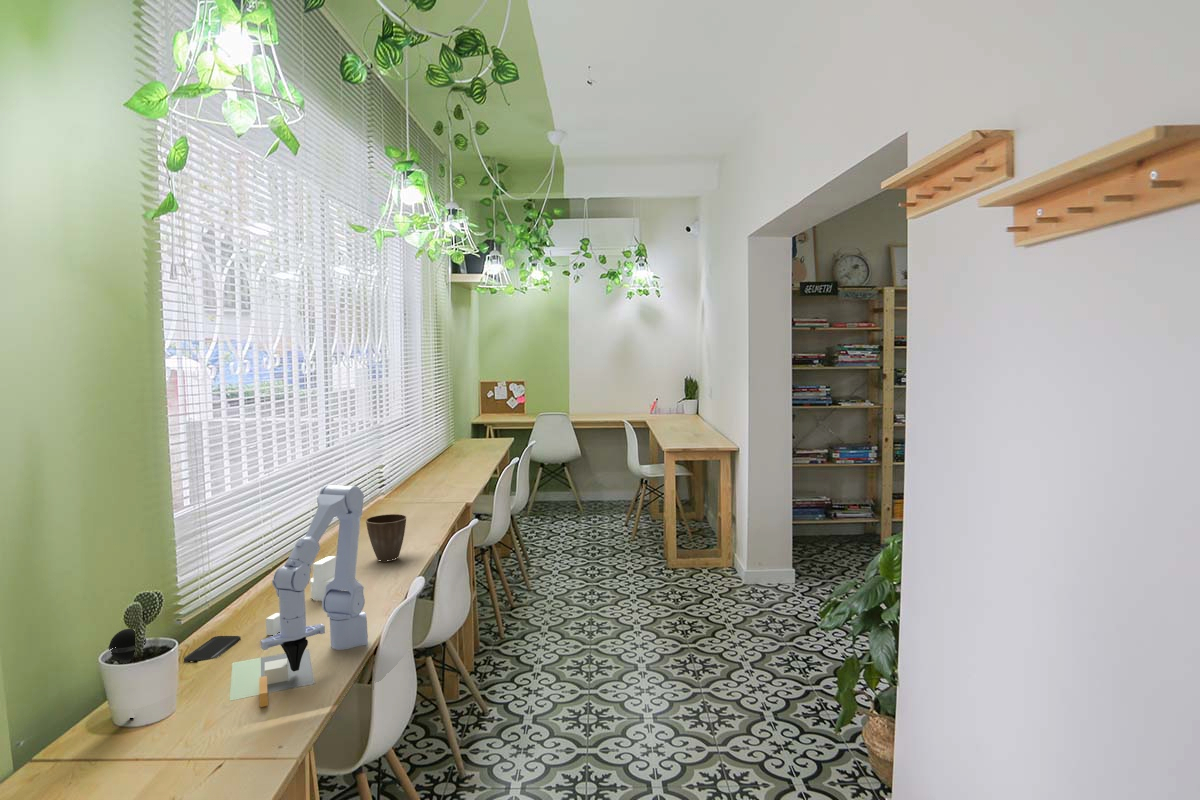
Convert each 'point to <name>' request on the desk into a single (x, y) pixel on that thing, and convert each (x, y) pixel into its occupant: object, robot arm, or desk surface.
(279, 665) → the plug block
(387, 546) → the plant pot
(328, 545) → the desk surface
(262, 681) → the bar
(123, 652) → the black bowler hat
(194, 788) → the desk surface
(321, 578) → the cylinder with rectangular tab
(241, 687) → the green and grey board
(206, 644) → the phone
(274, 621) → the napkin holder
